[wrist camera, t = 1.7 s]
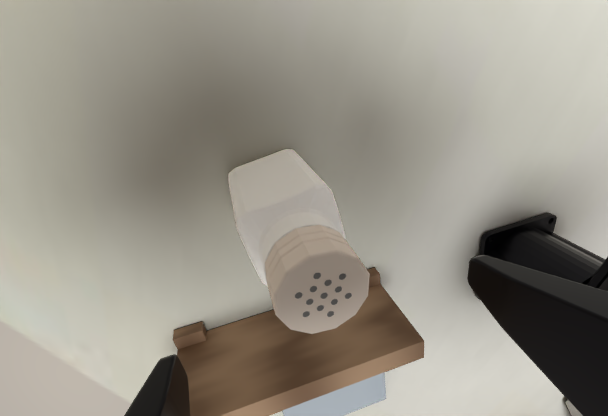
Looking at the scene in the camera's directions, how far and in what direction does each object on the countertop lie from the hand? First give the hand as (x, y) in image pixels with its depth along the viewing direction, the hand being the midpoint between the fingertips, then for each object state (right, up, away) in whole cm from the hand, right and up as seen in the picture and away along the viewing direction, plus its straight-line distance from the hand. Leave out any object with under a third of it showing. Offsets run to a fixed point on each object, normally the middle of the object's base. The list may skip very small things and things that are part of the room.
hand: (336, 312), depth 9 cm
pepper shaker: (-3, +4, +9) cm, 11 cm away
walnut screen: (-2, -4, +13) cm, 14 cm away
